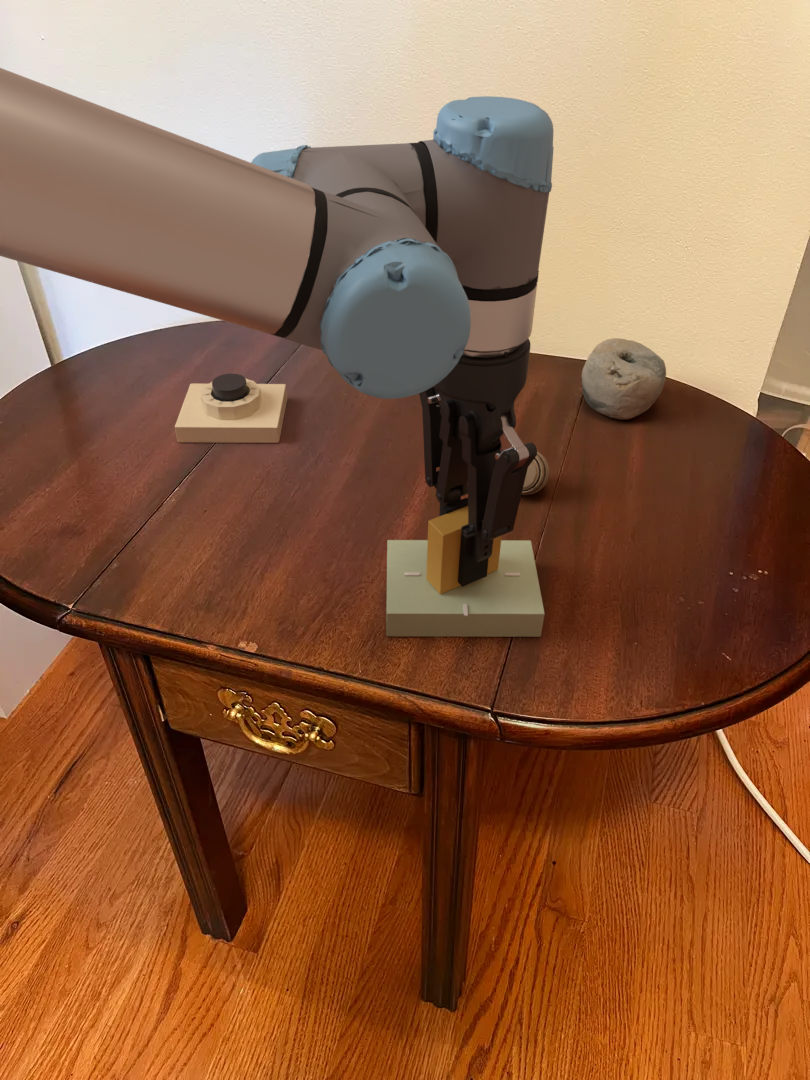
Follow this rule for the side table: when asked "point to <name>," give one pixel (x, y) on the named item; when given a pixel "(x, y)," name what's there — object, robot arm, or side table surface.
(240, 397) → the bell button
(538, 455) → the door knob
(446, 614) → the plate
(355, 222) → the robot arm
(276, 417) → the doorbell
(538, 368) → the side table surface
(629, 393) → the stone
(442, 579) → the lock knob
